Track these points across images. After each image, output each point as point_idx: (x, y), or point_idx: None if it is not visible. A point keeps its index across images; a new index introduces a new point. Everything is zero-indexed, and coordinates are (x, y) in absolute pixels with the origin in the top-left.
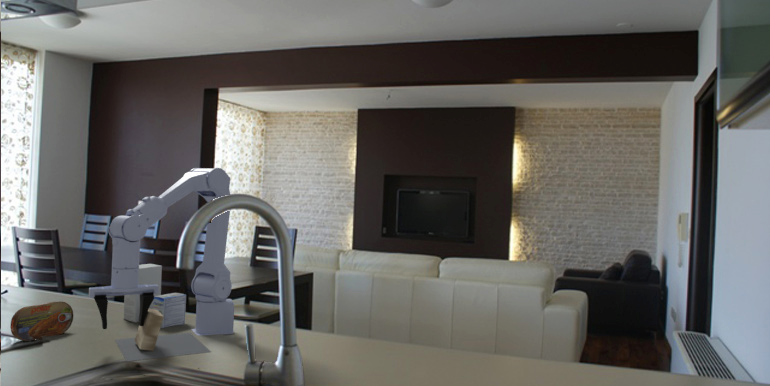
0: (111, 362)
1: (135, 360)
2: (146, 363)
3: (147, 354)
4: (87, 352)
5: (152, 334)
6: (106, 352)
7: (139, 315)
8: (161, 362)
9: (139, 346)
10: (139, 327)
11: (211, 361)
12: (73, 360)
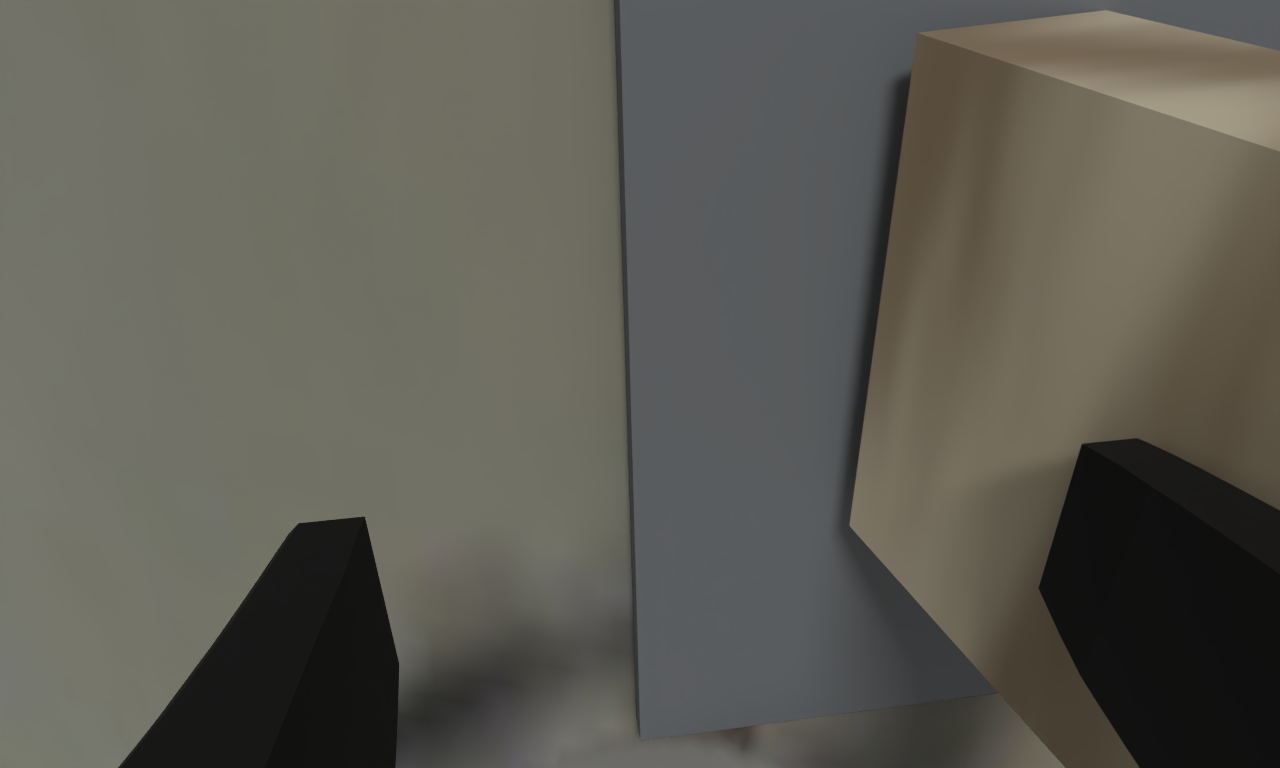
0: (500, 641)
1: (723, 729)
2: (807, 723)
3: (884, 588)
4: (125, 130)
5: None
6: (435, 230)
7: (1232, 579)
8: (930, 722)
9: (867, 476)
10: (1112, 202)
11: None
12: (29, 484)
